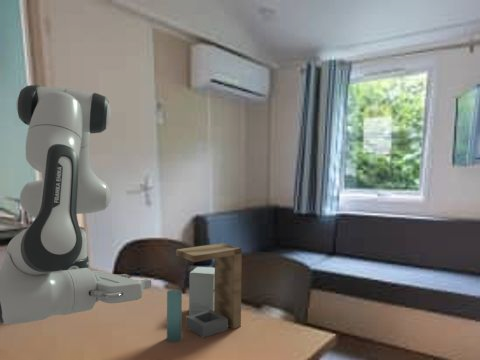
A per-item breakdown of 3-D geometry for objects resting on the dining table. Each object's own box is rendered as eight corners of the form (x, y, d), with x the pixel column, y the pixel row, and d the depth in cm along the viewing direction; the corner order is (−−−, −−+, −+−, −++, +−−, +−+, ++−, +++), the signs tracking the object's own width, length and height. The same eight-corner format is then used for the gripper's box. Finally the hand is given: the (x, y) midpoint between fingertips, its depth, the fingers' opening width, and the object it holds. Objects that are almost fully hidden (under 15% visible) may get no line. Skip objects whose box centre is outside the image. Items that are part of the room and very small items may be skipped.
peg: (164, 338, 97) (164, 291, 97) (176, 334, 99) (177, 288, 99) (171, 343, 94) (171, 295, 94) (184, 339, 97) (184, 292, 96)
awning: (175, 329, 102) (176, 249, 101) (221, 316, 112) (222, 242, 111) (193, 341, 95) (194, 256, 94) (240, 326, 105) (241, 248, 104)
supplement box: (212, 317, 111) (213, 274, 110) (188, 315, 112) (188, 272, 112) (219, 308, 118) (219, 267, 117) (196, 306, 119) (196, 265, 119)
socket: (186, 327, 104) (186, 316, 104) (211, 320, 109) (211, 309, 109) (202, 337, 97) (202, 326, 97) (228, 329, 103) (228, 318, 102)
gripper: (103, 281, 73) (164, 272, 83) (61, 269, 87) (117, 262, 97) (102, 315, 73) (163, 301, 83) (60, 297, 87) (117, 287, 97)
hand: (138, 280), depth 90 cm, fingers open, 8 cm apart
